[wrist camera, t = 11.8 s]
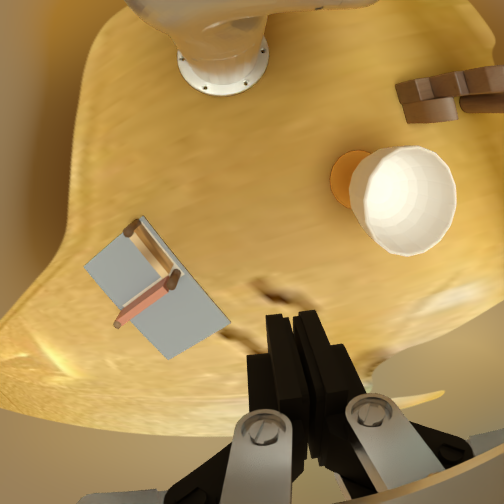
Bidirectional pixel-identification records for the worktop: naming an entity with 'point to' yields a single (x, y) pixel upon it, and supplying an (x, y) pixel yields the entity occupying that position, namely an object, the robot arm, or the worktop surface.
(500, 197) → the worktop surface
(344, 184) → the cup
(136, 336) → the worktop surface
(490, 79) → the wooden toy
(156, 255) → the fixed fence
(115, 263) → the card
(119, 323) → the bar
